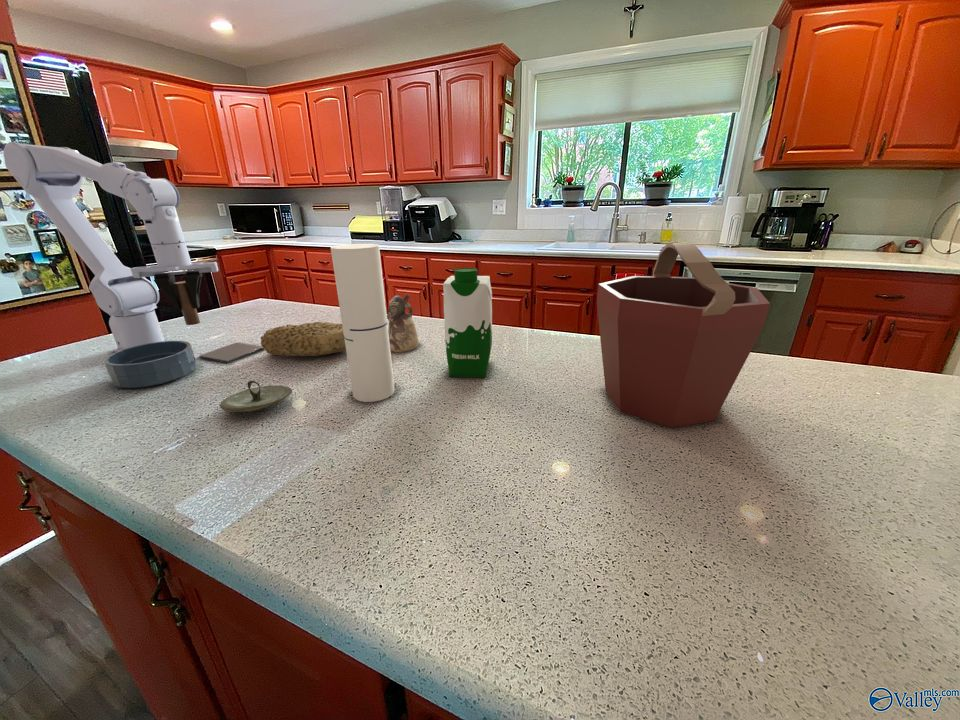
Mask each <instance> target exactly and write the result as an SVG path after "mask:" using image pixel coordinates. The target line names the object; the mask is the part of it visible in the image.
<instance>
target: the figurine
mask: <svg viewBox="0 0 960 720" xmlns="http://www.w3.org/2000/svg"><path fill="white" fill-rule="evenodd" d="M410 298H411V295H409V294H407V293H406V294H405V295H404V296H403V297H402V296H400V295H394V296H393V297H392V298H391V299H390V300H389V301H388V307H387V308H388V309H387V310H386V315H387V322H388V333H389V343H390V352H394V353H395V352H396V353H404V352H409V351H413V350H415V349H416V348H417V347H418V345H419V336H418V331H417V327H416V324H415V322H414V319H413V313H414V312H413V307H412V305H411V304H410V303H409V302H408V301H409V300H410ZM406 309H408V312H406Z"/></svg>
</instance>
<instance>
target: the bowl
mask: <svg viewBox="0 0 960 720" xmlns="http://www.w3.org/2000/svg"><path fill="white" fill-rule="evenodd" d="M103 365H104V367H105V369H106V371H107V374H108V377H109V379H110V381H111V383H112V384H113V386H114V387H118V388H146V387H154V386H158V385H162V384H165V383H169V382H172V381H174V380H178V379H180V378H182V377H184V376H186V375H188V374H190V373H191V372H193V371H194V370H195V369H196V368H197V365H198V364H197V360H196V358H195V354H194V350H193V347H192V344H191V343H189V342H188V341H184V340H165V341H161V342H154V343H147V344H143V345H138V346H134V347H130V348H127V349H123V350H120V351H118V352H116V351H114V352H113V353H111V354H109V355H108V356H106V357H105V358H104V359H103Z"/></svg>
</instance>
